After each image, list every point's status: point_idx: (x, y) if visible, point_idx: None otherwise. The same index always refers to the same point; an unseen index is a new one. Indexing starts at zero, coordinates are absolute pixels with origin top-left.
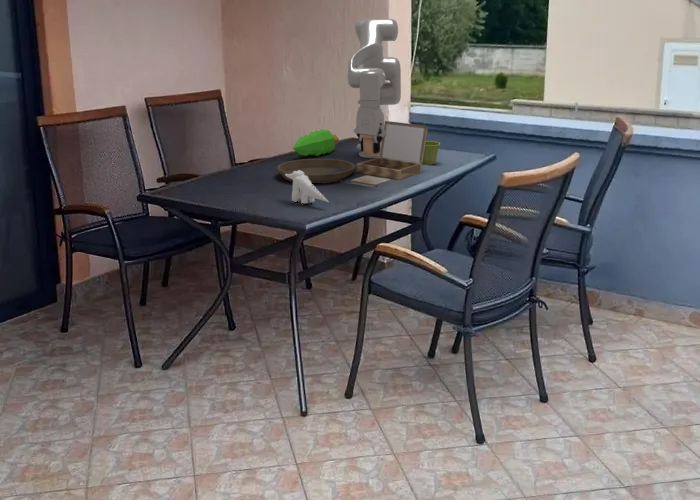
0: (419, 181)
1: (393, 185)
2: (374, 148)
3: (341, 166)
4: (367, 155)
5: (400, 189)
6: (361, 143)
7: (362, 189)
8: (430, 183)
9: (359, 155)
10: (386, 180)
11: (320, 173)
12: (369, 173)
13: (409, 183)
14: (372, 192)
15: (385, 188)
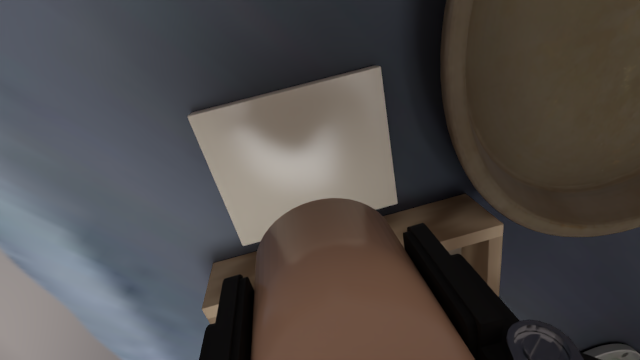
0: (175, 327)
1: (170, 210)
2: (220, 323)
3: (592, 198)
4: (294, 211)
5: (60, 189)
6: (466, 294)
7: (182, 7)
8: (113, 342)
9: (627, 345)
10: (235, 218)
11: (633, 50)
12: (396, 224)
13: (165, 283)
14: (62, 3)
15: (128, 140)
